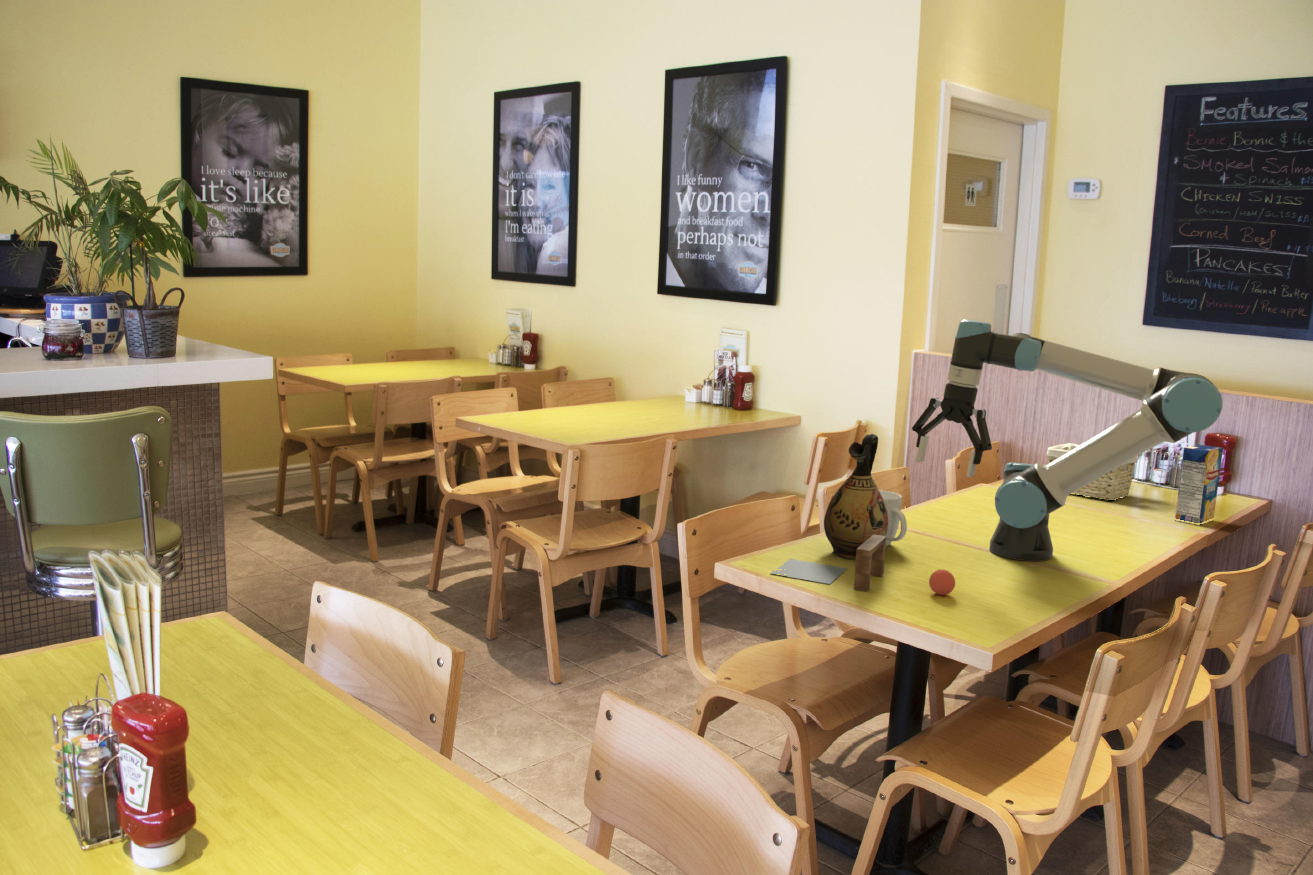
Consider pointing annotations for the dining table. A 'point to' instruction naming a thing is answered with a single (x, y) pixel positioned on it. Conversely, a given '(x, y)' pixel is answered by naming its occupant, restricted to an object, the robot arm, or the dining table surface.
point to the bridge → (869, 561)
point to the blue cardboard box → (1198, 483)
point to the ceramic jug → (856, 504)
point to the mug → (894, 516)
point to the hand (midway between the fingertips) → (944, 468)
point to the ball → (942, 582)
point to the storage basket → (1106, 485)
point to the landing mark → (810, 571)
